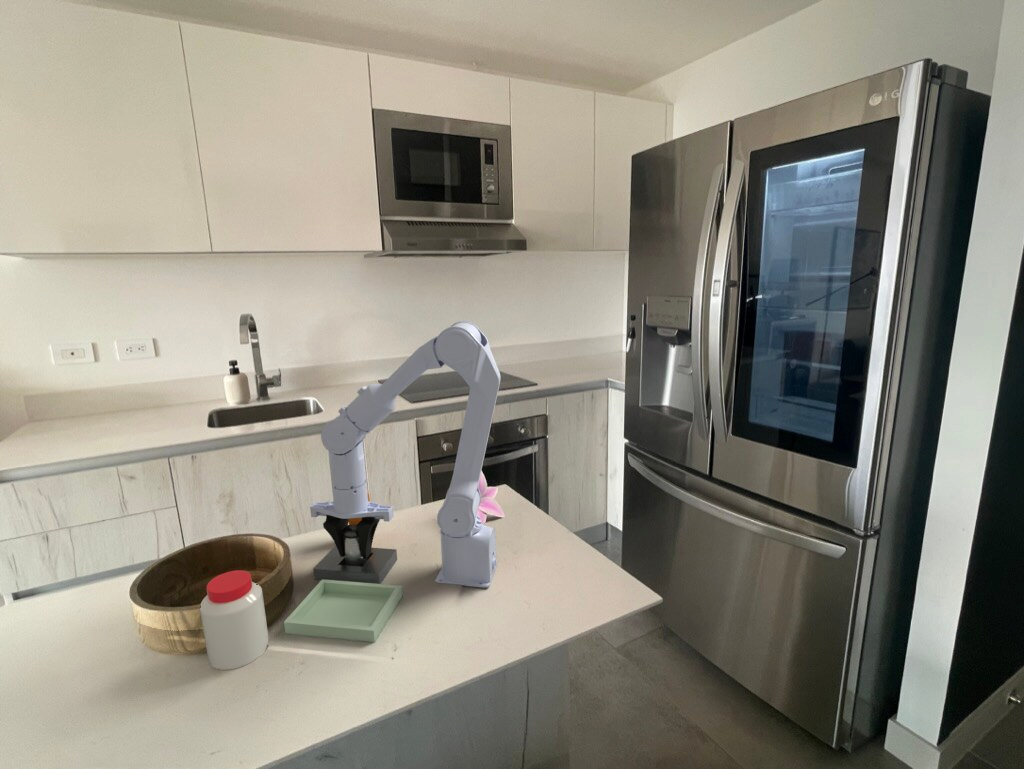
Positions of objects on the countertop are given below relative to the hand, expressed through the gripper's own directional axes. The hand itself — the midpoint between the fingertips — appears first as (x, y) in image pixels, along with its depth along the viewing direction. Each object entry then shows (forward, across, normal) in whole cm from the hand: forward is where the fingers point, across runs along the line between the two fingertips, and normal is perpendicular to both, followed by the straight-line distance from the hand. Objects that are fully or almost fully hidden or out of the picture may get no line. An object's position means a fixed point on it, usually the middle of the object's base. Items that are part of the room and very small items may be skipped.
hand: (355, 554), depth 93 cm
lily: (+4, -17, -23) cm, 29 cm away
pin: (+3, 0, 0) cm, 3 cm away
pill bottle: (+4, +8, +21) cm, 23 cm away
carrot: (+4, +4, -10) cm, 11 cm away
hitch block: (+3, 0, 0) cm, 3 cm away
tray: (+3, -4, +12) cm, 13 cm away
